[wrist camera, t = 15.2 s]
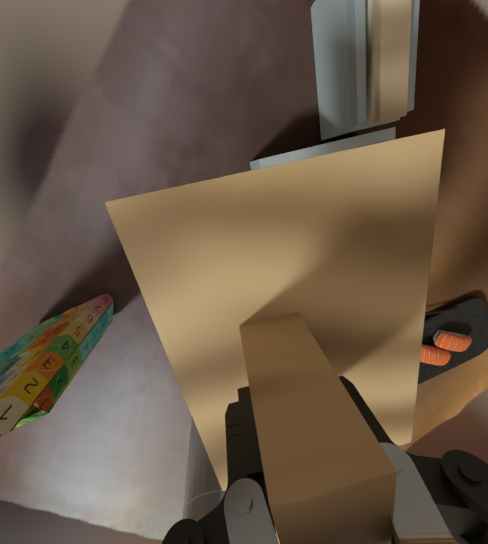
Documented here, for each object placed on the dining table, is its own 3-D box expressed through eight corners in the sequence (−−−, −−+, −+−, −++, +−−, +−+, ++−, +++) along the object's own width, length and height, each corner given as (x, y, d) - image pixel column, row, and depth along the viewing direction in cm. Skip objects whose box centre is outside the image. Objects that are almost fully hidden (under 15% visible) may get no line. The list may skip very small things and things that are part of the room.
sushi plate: (349, 406, 51) (359, 423, 47) (290, 300, 39) (297, 312, 36) (483, 342, 48) (504, 355, 44) (461, 207, 37) (487, 211, 33)
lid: (400, 428, 18) (530, 604, 11) (222, 474, 18) (228, 691, 10) (425, 132, 11) (918, 33, 3) (114, 199, 10) (-157, 266, 3)
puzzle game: (104, 287, 34) (-23, 419, 16) (123, 312, 36) (29, 457, 18) (33, 320, 35) (-166, 482, 17) (56, 343, 37) (-101, 512, 19)
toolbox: (361, 276, 38) (403, 306, 30) (275, 298, 38) (292, 334, 30) (354, -2, 25) (424, -89, 17) (224, 27, 25) (228, -46, 17)
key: (391, 119, 23) (406, 115, 21) (366, 125, 23) (379, 121, 21) (395, -65, 18) (415, -92, 16) (364, -58, 18) (381, -84, 16)
